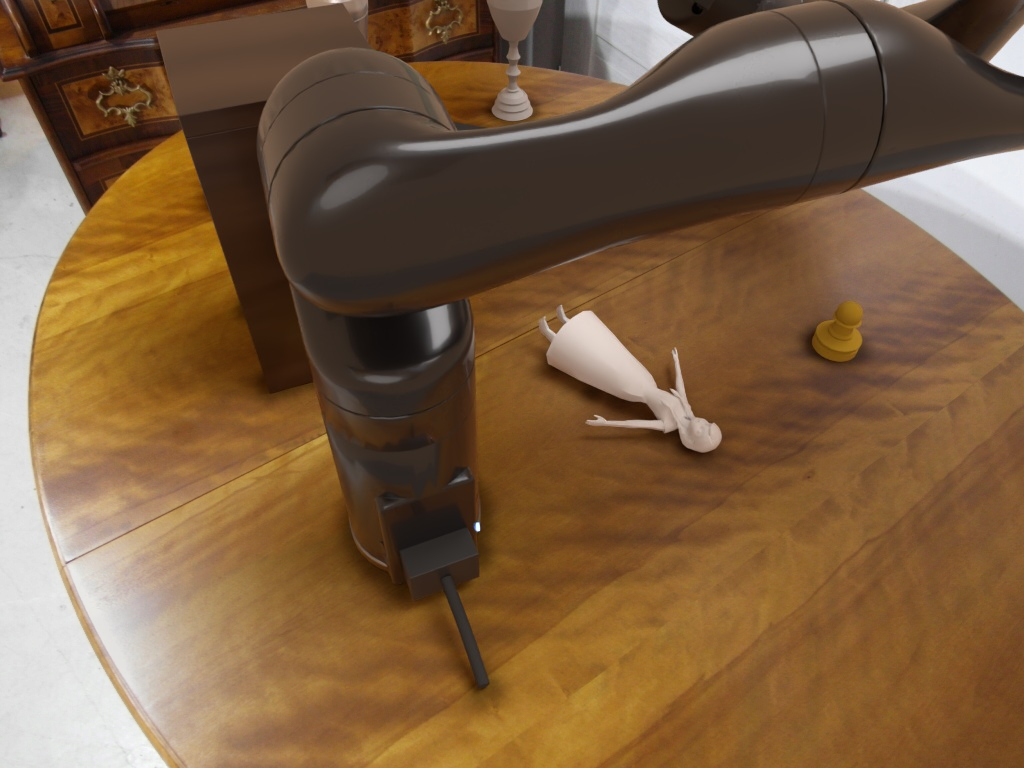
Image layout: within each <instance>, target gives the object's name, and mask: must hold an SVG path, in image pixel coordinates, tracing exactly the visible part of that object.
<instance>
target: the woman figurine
mask: <svg viewBox="0 0 1024 768" xmlns="http://www.w3.org/2000/svg"><path fill="white" fill-rule="evenodd" d="M555 312H556V315H555V317H556V318H557V320H558V321H559V322H560V323H561V324H563V325H562V326H561V327H560V329H559V330H558V331H557V333H556V332H554V331H553V330H552V329H550V327H549V324H548V322H547V320H546V318H547V317H546V316H543V317H542V318H540V319H539V320H538V331H539V332H540V333H541V334H542V335H543V336H544V337H545V338H546V339H547V340H548V341H549V343H550V345H549V347H548V350H547V351H546V354H545V356H546V361H547V364H548V365H549V366H551V367H553V368H555V369H557V370H559V371H561V372H562V373H565V374H567V375H568V376H571V377H572V378H575V379H576V380H578V381H580V382H582V383H585V384H587V385H590V386H592V387H594V388H596V389H598V390H601V391H603V392H605V393H607V394H610V395H612V396H614V397H617V398H619V399H622V400H625V401H628V402H632V403H633V402H634V403H635V402H637V403H638V402H639V403H643V404H646V405H647V406H648V408H649V409H650V411H652V413H653V415H654V417H655V418H656V419H653V420H651V419H650V420H649V419H647V420H646V419H627V420H626V419H625V420H606V419H605V418H604V417H603V416H600V415H598V414H594V415H593V417H595V418H597V419H596V420H591V419H586V421H585V424H586V425H588V426H589V425H590V426H593V427H618V428H626V429H648V430H656V431H662V433H663V434H667V433H670V432H674V431H677V430H678V433H679V434H678V435H679V438H680V441H681V443H682V445H683V446H684V447H685V448H687V449H690V450H692V451H695V452H698V453H708V452H712V451H713V450H714V451H715V450H716V449H717V448H718V447H719V445H720V444H721V442H722V439H723V434H722V430H721V429H720V427H719V426H718V425H717V424H716V423H715V422H712V423H711V422H709V421H708V420H707V419H705V418H702V417H696V416H695V415H694V412H693V411H692V406H691V404H689V401H688V398H687V394H686V389H685V385H684V384H685V383H684V379H683V375H682V371H681V366H680V360H679V354H678V351H677V347H673V349H672V350H671V355H672V357H673V364H674V371H675V389H673V388H669V390H670V392H669V391H666V390H663V389H661V388H658V386H657V383H656V381H655V379H654V377H653V375H652V374H651V372H650V371H649V370H648V369H647V367H645V366H644V365H643V364H642V363H641V362H640V361H639V359H637V358H636V357H635V356H634V355H633V354H632V353H631V352H630V351H629V350H628V349H627V348H626V347H625V345H624V344H623V343H622V342H621V341H620V340H619V339H618V338H617V336H616V335H615V334H614V333H613V332H612V331H611V330H610V328H608V326H607V325H606V324H605V323H604V322H603V321H602V320H601V319H600V318H599V317H598V315H596V313H594V312H593V310H582V311H581V312H579V313H577V314H576V315H573V316H572V318H568V317H567V315H566V314H565V310H564V308H563V304H560V305H558V306H557V307H556V310H555Z"/></svg>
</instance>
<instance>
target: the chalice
mask: <svg viewBox="0 0 1024 768" xmlns="http://www.w3.org/2000/svg"><path fill="white" fill-rule="evenodd" d="M543 1H544V0H486V3H487V6H488V10H489V13H490V15H491V18H492V21H493V22H494V24H495V27H496V29H497V32H498V33H499V35H500V37H501V38H502V39H503V40H505V41H507V42H508V45H509V48H508V53H507V55H506V59H507V60H508V67H507V69H506V70H505V74H506V75H507V77H508V84H507V86H506V87H504V88H502V89H501V90H500V91H499V92H498V94H497V97H496V98H495V100H494V105H493V106H492V107H491V113H492V114H493V116H495V117H496V118H498V119H500V120H503V121H507V122H508V121H509V122H517V121H523V120H526V119H528V118H530V117H531V116H532V115H533V113H534V110H533V109H534V108H533V107H532V105H531V101H530V99H529V98H528V97H529V96H528V94H527V93H526V92H525V90H524V89H523V88H520V86H518V77H519V76H520V75H521V70H520V69H519V67H518V63H519V60H520V59H521V55H520V53H519V48H518V46H519V42H522V41H524V40H526V38H527V37H528V35H529V33H530V31H531V29H532V28H533V26H534V24H535V22H536V20H537V18H538V15H539V12H540V10H541V8H542V5H543Z"/></svg>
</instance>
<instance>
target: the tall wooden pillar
mask: <svg viewBox="0 0 1024 768" xmlns="http://www.w3.org/2000/svg"><path fill="white" fill-rule="evenodd" d="M155 33H156V37H157V40H158V41H157V42H158V44H159V48H160V52H161V56H162V60H163V63H164V64H163V65H164V67H165V71H166V75H167V80H168V83H169V87H170V91H171V94H172V99H173V102H174V107H175V111H176V114H177V118H178V121H179V124H180V127H181V129H182V133H183V136H184V139H185V143H186V145H187V148H188V151H189V154H190V157H191V160H192V163H193V167H194V169H195V172H196V175H197V178H198V182H199V185H200V187H201V190H202V193H203V196H204V199H205V202H206V205H207V209H208V211H209V214H210V217H211V220H212V223H213V227H214V230H215V232H216V236H217V238H218V241H219V245H220V247H221V250H222V254H223V257H224V260H225V262H226V265H227V268H228V271H229V275H230V278H231V280H232V284H233V286H234V289H235V293H236V296H237V299H238V301H239V305H240V308H241V311H242V314H243V317H244V320H245V323H246V326H247V329H248V332H249V335H250V338H251V341H252V344H253V348H254V350H255V353H256V356H257V359H258V362H259V365H260V368H261V372H262V374H263V377H264V380H265V383H266V386H267V389H268V393H269V394H273V393H277V392H280V391H281V392H282V391H284V390H287V389H291V388H294V387H299V386H302V385H306V384H309V383H312V382H313V378H312V374H311V370H310V367H309V363H308V359H307V356H306V352H305V349H304V345H303V341H302V337H301V333H300V328H299V324H298V320H297V316H296V311H295V307H294V303H293V299H292V294H291V290H290V285H289V281H288V280H287V278H286V276H285V274H284V272H283V269H282V267H281V265H280V262H279V259H278V256H277V252H276V248H275V244H274V239H273V234H272V229H271V225H270V219H269V215H268V210H267V205H266V200H265V195H264V189H263V184H262V179H261V174H260V169H259V164H258V159H257V131H258V125H259V121H260V117H261V114H262V111H263V108H264V106H265V104H266V102H267V100H268V98H269V96H270V94H271V93H272V91H273V90H274V88H275V87H276V86H277V84H278V83H279V82H280V81H281V79H282V78H283V77H284V76H285V75H286V74H287V73H288V72H289V71H291V70H292V69H293V68H294V67H295V66H297V65H298V64H300V63H301V62H303V61H304V60H306V59H308V58H310V57H312V56H314V55H317V54H319V53H322V52H325V51H328V50H333V49H340V48H350V47H354V48H366V49H372V50H374V49H373V47H372V46H371V44H370V43H369V41H368V42H367V40H366V39H365V37H364V35H363V34H362V32H361V31H360V29H359V28H358V26H357V25H356V23H355V21H354V20H353V18H352V17H351V15H350V14H349V12H348V11H347V9H346V7H345V6H344V4H343V3H339V4H332V5H326V6H319V7H312V8H307V7H305V8H299V9H294V10H287V11H280V12H273V13H267V14H260V15H253V16H246V17H238V18H233V19H225V20H219V21H212V22H207V23H200V24H192V25H187V26H179V27H173V28H166V29H165V28H164V29H159V30H156V31H155ZM313 383H314V382H313Z"/></svg>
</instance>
